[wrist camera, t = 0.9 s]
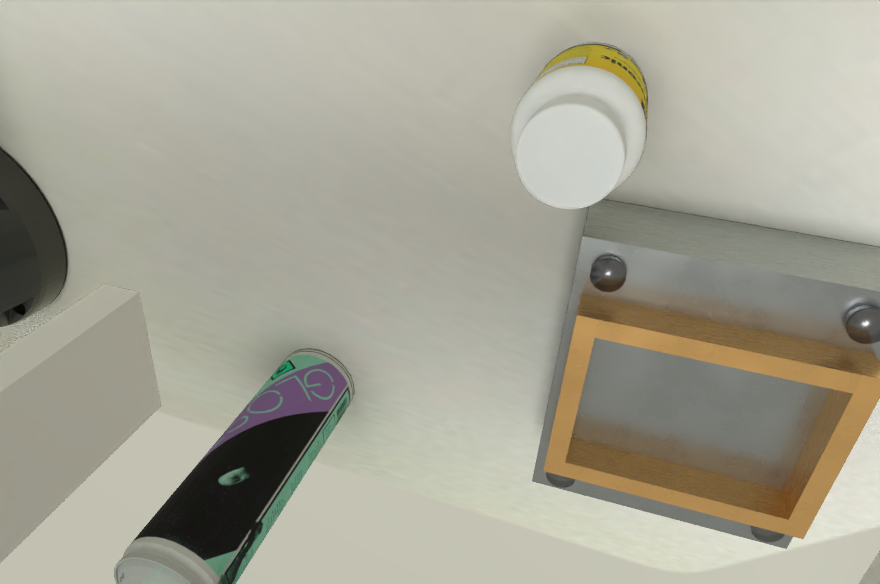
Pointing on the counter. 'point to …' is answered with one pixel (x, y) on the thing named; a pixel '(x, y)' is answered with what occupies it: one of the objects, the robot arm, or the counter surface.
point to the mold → (712, 369)
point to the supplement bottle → (580, 126)
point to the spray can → (242, 479)
